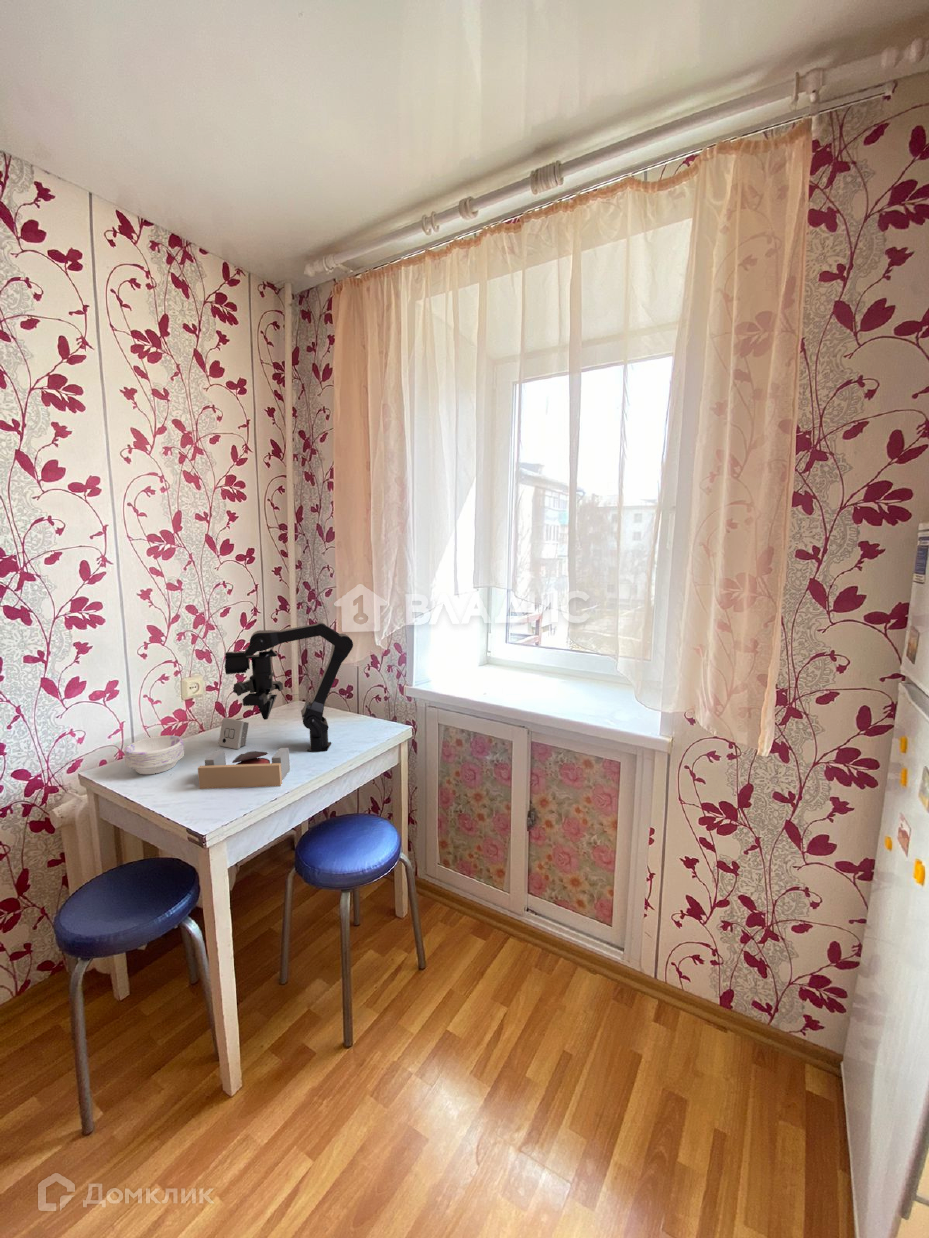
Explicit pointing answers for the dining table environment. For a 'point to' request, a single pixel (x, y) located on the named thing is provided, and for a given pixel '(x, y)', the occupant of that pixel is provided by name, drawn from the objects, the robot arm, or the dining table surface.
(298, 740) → the dining table surface
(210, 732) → the dining table surface
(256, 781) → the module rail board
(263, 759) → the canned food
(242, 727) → the electrical switch
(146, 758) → the paper bowls
